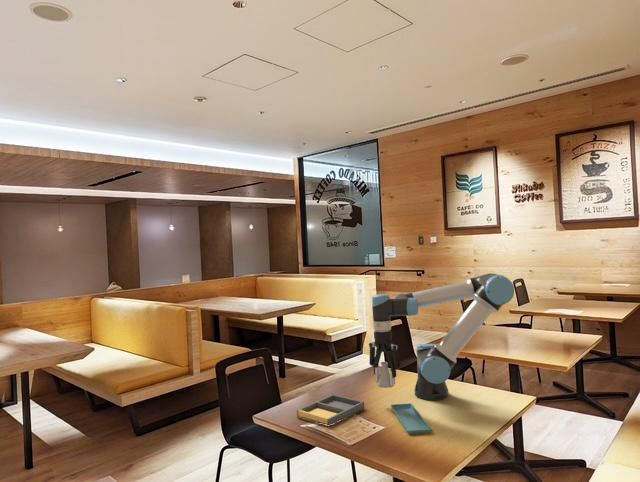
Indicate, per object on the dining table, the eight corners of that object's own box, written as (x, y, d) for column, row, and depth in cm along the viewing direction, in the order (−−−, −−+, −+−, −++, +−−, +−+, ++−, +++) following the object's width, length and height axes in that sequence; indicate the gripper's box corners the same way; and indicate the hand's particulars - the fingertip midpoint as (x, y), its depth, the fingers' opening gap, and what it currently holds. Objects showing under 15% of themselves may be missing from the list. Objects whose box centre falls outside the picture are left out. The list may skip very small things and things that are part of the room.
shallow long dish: (432, 434, 166) (431, 427, 166) (407, 436, 165) (407, 429, 165) (411, 409, 192) (411, 403, 192) (390, 410, 191) (390, 404, 191)
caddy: (364, 408, 193) (364, 401, 193) (329, 427, 175) (328, 419, 176) (333, 401, 204) (332, 394, 204) (297, 417, 187) (296, 410, 187)
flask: (393, 388, 192) (392, 364, 192) (376, 388, 194) (375, 365, 194) (394, 383, 199) (393, 360, 200) (377, 383, 201) (376, 360, 201)
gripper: (358, 330, 200) (362, 382, 200) (397, 333, 188) (400, 389, 187) (368, 327, 206) (371, 377, 206) (406, 330, 193) (410, 384, 193)
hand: (385, 383), depth 197 cm, fingers closed on flask, 7 cm apart
